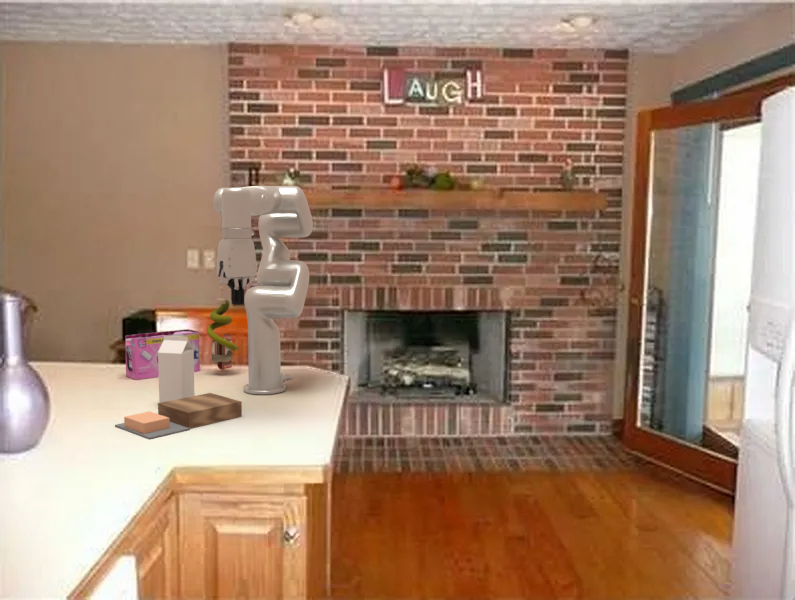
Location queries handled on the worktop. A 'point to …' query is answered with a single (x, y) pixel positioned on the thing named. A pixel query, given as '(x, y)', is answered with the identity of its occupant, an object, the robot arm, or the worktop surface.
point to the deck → (200, 410)
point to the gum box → (153, 352)
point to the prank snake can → (221, 344)
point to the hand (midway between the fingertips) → (237, 304)
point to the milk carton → (175, 369)
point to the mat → (173, 429)
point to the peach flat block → (146, 422)
